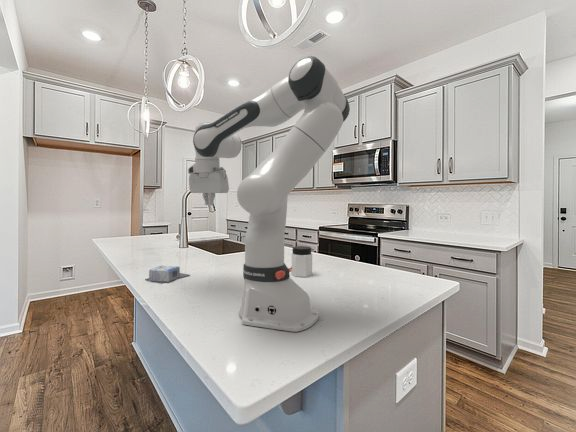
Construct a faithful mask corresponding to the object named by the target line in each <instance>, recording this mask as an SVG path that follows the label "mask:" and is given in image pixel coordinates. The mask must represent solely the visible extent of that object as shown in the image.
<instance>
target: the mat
mask: <svg viewBox="0 0 576 432" xmlns="http://www.w3.org/2000/svg"><path fill="white" fill-rule="evenodd" d="M190 276H191V274H189V273H181V272H180V277H178V278H176V279H173V280H171V281H169V282H172V281H177V280H179V279H182V278H183V279H184V278H187V277H190ZM145 281H149V282H153V283H156V284H157V283H158V284H166V283H167V282H163V281H150V280H149V277H148V278H145ZM169 282H168V283H169Z"/></svg>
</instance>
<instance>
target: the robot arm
mask: <svg viewBox="0 0 576 432" xmlns="http://www.w3.org/2000/svg"><path fill="white" fill-rule="evenodd" d="M338 83H339V82H338V80H337V79H336V78H335V77H334V76H333V74H332V73H331V72H330V71H329V70H328V69H327V68H326V65H325V64H324V62H323V61H321V60H320V59H319V58H318V57H316V56H313V55H309V56H304V57H302V58H300V59H299V60H298V61H296V63H295V64H294V65H292V67H291V69H290V70H289V73H288V76H286V77H284V78H283V79H281V80H279V81H278V82H276V83H274V85H273V86H271V87H270V88H268V89H267V90H266V91H264V92H263V93H261V94H259V95H258V96H257V97H254V98H252V99H251V100H248V101H246V102H243V104H242V103H241V104H240V105H238V106H237V107H235V108H234V109H232V110H230V111H229V112H227V113H226V114H225V115H223V116H221V117H220V118H218V119H217V120H214V122H201V123H198V125H196V126H195V128H194V133H193V139H192V143H193V147H194V151H195V157H194V163H193V164H192V165H191V166H190V167H188V169H187V173H188V174H189V176H188V185H189V192H190V193H191V194H202V198H203V200H204V205H205V206H214V200H215V198H216V194H227V193H228V192H229V190H230V188H229V186H230V185H229V178H228V174H227V171H226V169H225V168H224V167H223V166H221V165H220V163H221V162H220V159H234V158H237V157H238V156H239V154H240V153H241V150H242V140H241V138H240V136H239V135H238V134H237V133H238V132H240V131H241V130H242V131H243V129H247V128H251V127H271V128H272V127H273V128H274V127H277V126H279V125H283V123H286V122H287V121H289V120H290V119H292V118H293V117H294V116H296V115H297V114H298V113H300V112H301V111H303V110H304V111H303V113H302V115H301V116H300V117H299V119H297V121H296V122H295V124H294V125H293V126H292V127H291V128H290V130H289V131H288V132H287V134H285V136H284V137H283V139H282V140H281V141H280V143H278V145H277V147H276V148H275V149H274V150H273V151H272V152H271V153H270V154H269V155H268V156H267V157H266V158H265V159H264V160H262V161H261V162H260V164H258V165H257V167H256V168H254V170H253V171H251V173H250V174H249V175H247V176H246V177H245V178H243V180H241V182H240V183H239V185H238V187H237V191H236V198H237V201H238V203H239V205H240V206H241V208H242V209H243V210H244V211H246V212H247V213H248V214H249V217H248V224H247V227H246V228H247V229H246V233H245V236H244V264H243V269H242V270H243V271H242V274H243V281H244V282H243V283H244V285H243V294H242V300H241V305H240V309H239V312H238V315H239V317H240V318H241V319H242V321H241V323H242V325H245V326H252V327H256V328H257V327H258V328H264V329H272V330H279V331H280V330H281V331H285V332H286V331H287V332H293V333H294V332H295V333H296V332H301V331H305V330H307V329H308V328H310V327H312V326H313V325H315V324H316V323H317V321H318V320H319V317H320V316H319V310H316V309H314V308H312V306H311V300H310V296H309V293H307V292H306V291H305V290H304V289H303V288H302V287H301V286H300V285H299V284H297V283H296V282H295V281H294V280H293V278H291V276H290V275H291V274H290V273H292V266H291V267H288V266H287V265H286V263H285V232H286V223H287V213H288V212H287V210H288V197H289V196H288V195H289V194H290V193H291V191H293V190H294V188H295V187H296V186H297V185H298V184H299V183H300V182H301V181H302V180H303V179H304V178H305V177H306V176H307V175H308V174H310V172H311V170H312V169H313V168H314V166H315V165H316V164H317V163H318V161H320V159H321V158H322V157H323V155H324V154H325V153H326V152H327V150H328V149H329V148H330V146H331V145H332V143H333V142H334V140H335V139H336V137H337V135H338V133H339V131H341V128H342V126H343V123H344V122H345V121H346V120H347V118H348V116H349V115H350V110H351V109H350V108H351V107H350V103H349V100H348V98H347V96H346V95H345V94H344V93H343V91H342V88H341V87H340V85H339V84H338ZM220 166H221V167H220Z"/></svg>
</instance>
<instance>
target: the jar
mask: <svg viewBox="0 0 576 432" xmlns="http://www.w3.org/2000/svg"><path fill="white" fill-rule="evenodd" d="M291 251H292V253H291V267H292V269H291V270H292V271H291V275H292V276H293V277H295V278H309V277H311V276H313V253H312V247H311V246H303V245H299V246H298V245H296V246H293V247H292V250H291Z"/></svg>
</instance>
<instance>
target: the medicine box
mask: <svg viewBox="0 0 576 432" xmlns="http://www.w3.org/2000/svg"><path fill="white" fill-rule="evenodd" d="M180 269H181V267H180V266H175V265H160V266H156V267H154V268H153V267H152V268H150V269H149V271H148V272H149V273H148V275H149V276H148V278H149V280H150V281H149V282H152V281H163V282H166V283H169V281H170V282H172V281H171V280H173V279H176V278H178V277H180V273H181V270H180ZM173 281H174V280H173Z"/></svg>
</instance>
